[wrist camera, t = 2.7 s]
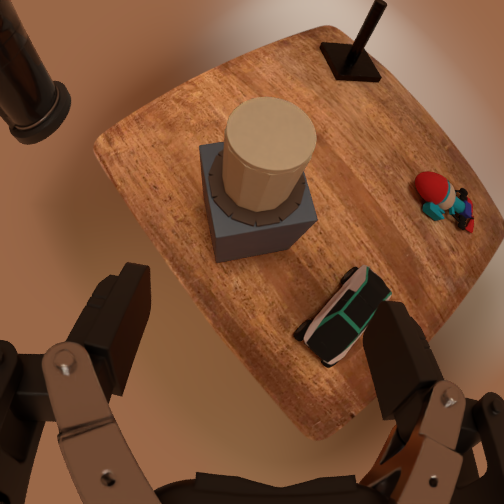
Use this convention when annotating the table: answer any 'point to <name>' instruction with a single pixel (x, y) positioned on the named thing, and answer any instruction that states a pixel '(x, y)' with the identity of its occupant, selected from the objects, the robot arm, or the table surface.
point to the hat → (262, 161)
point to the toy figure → (444, 199)
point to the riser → (245, 236)
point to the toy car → (344, 315)
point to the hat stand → (355, 51)
